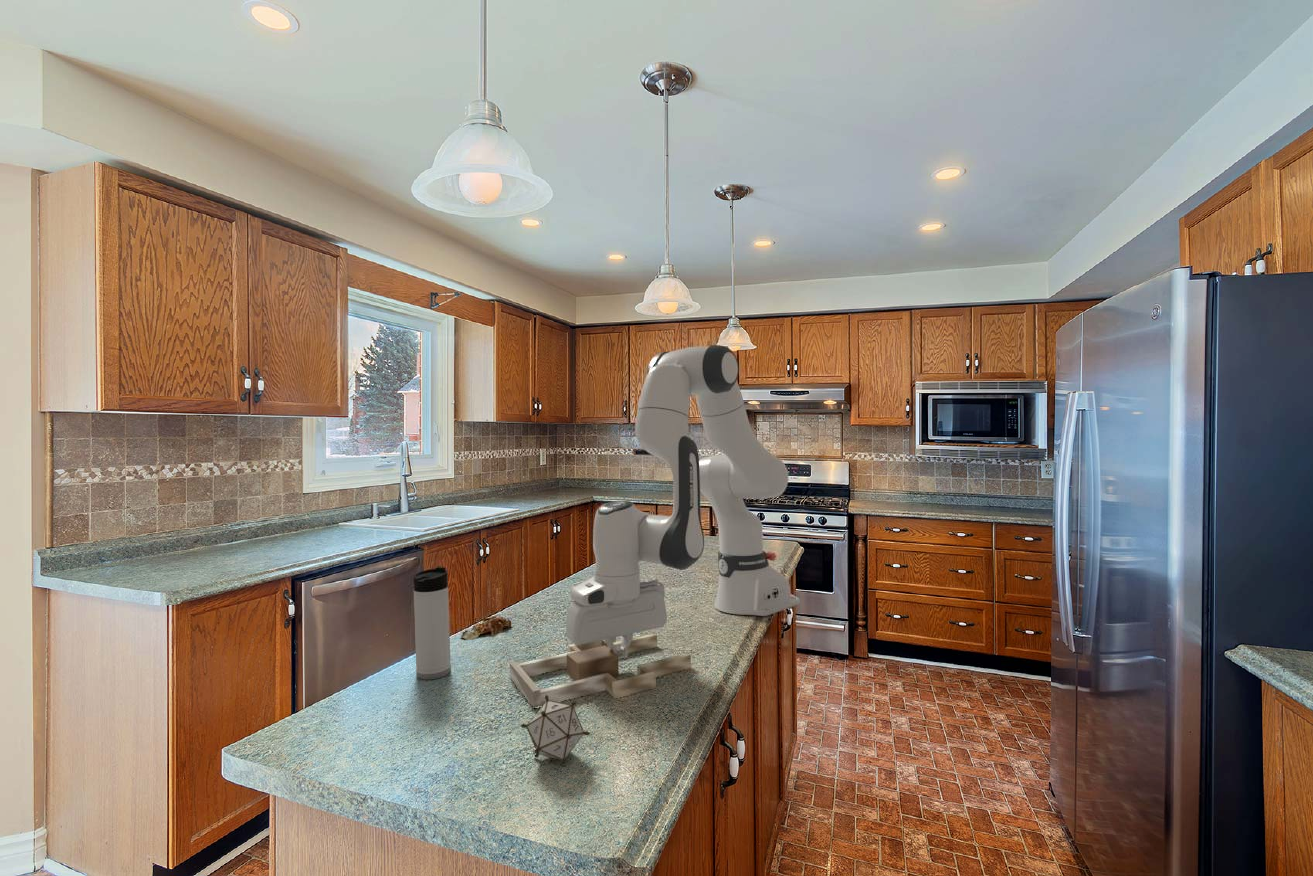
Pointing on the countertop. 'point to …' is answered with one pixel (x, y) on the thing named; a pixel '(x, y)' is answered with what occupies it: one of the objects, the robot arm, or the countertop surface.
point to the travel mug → (432, 624)
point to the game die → (555, 730)
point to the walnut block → (592, 663)
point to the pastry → (487, 627)
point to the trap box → (596, 683)
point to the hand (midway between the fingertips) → (619, 657)
